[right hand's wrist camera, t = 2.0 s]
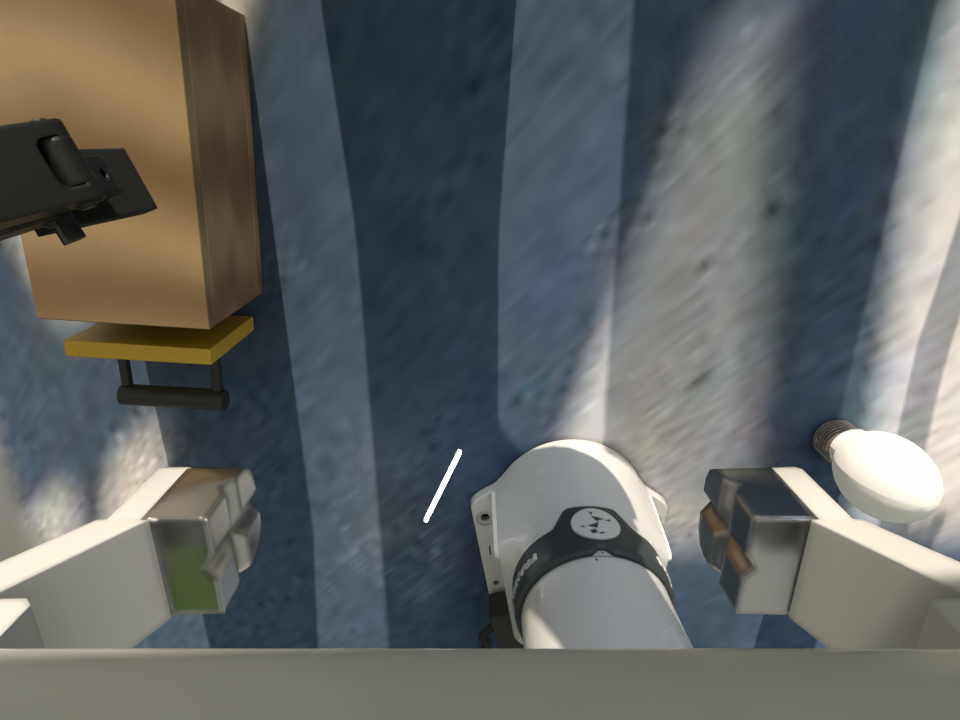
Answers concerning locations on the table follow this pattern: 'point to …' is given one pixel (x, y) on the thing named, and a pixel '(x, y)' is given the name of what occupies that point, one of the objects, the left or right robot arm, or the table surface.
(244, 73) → the wooden drawer cabinet
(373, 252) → the table surface
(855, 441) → the light bulb
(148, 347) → the drawer
